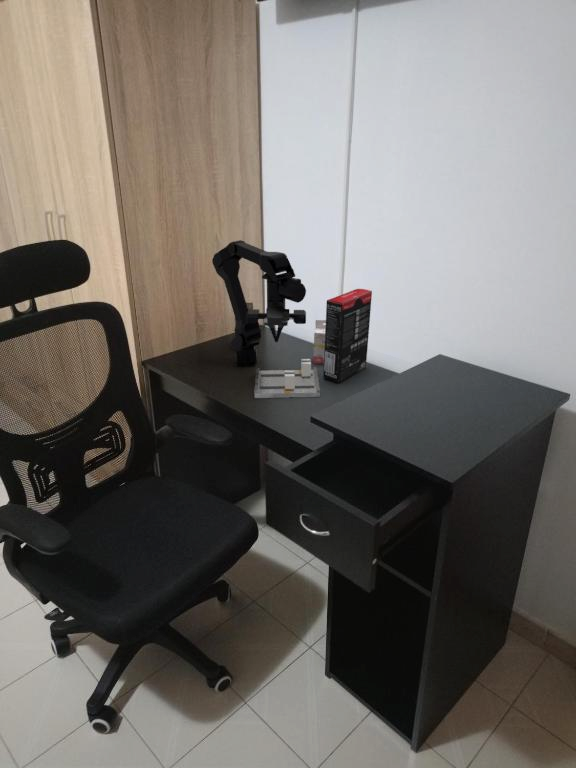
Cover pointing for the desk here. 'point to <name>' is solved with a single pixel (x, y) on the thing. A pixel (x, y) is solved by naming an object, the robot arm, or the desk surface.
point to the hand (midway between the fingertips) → (276, 341)
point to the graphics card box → (346, 334)
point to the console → (274, 384)
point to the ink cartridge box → (319, 342)
